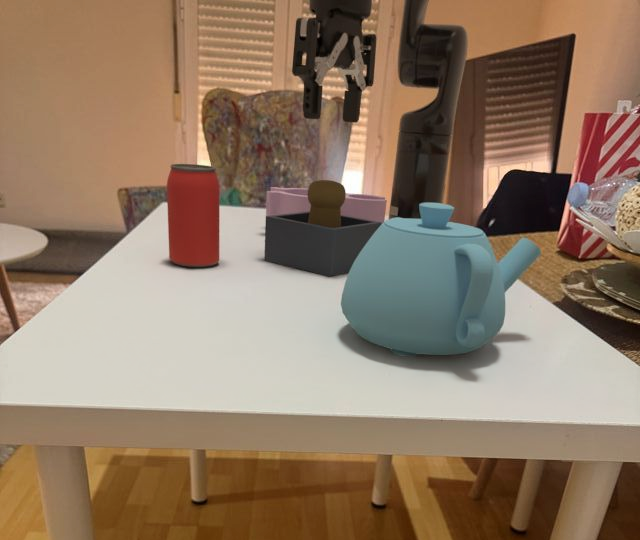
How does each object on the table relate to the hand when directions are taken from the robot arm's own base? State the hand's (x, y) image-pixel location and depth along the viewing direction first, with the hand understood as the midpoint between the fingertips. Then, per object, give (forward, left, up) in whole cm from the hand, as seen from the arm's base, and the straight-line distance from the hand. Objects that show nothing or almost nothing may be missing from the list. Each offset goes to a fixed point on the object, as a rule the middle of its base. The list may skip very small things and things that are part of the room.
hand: (331, 120), depth 81 cm
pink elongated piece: (-18, -13, -19) cm, 29 cm away
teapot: (+18, +28, -19) cm, 38 cm away
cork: (0, 0, -19) cm, 19 cm away
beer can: (+15, -10, -19) cm, 26 cm away
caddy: (0, 0, -18) cm, 18 cm away
